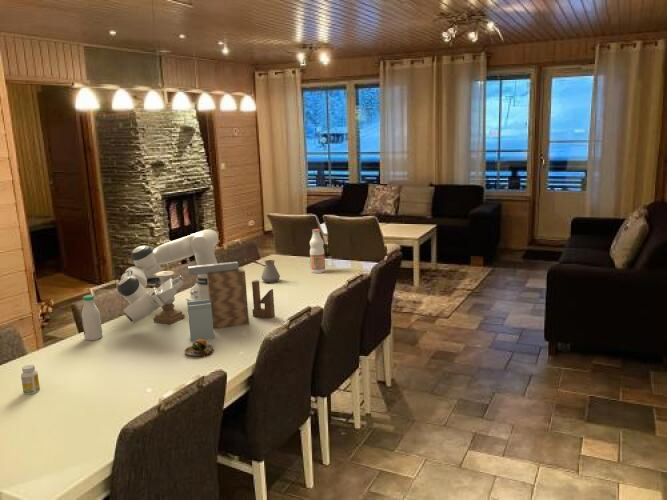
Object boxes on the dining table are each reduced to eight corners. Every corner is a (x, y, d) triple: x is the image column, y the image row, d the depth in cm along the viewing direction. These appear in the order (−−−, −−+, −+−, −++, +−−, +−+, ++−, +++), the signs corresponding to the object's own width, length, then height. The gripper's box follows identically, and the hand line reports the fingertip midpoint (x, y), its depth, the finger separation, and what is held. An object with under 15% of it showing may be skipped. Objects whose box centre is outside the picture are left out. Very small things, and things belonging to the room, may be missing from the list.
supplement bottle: (27, 396, 202) (23, 371, 200) (21, 392, 205) (17, 367, 203) (42, 390, 206) (38, 366, 204) (36, 387, 209) (32, 362, 207)
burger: (182, 351, 240) (181, 334, 238) (210, 346, 244) (209, 329, 242) (187, 361, 229) (185, 343, 227) (216, 355, 233) (214, 338, 232)
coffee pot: (282, 278, 354) (280, 255, 351) (277, 283, 343) (276, 259, 340) (249, 279, 357) (247, 255, 354) (243, 283, 346) (242, 259, 343)
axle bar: (188, 275, 261) (188, 268, 260) (188, 273, 264) (187, 266, 264) (238, 270, 267) (238, 262, 266) (237, 268, 271) (237, 261, 270)
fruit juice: (307, 272, 369) (305, 229, 363) (318, 269, 375) (316, 227, 370) (317, 274, 362) (315, 231, 357) (328, 271, 369) (326, 229, 363)
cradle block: (191, 341, 250) (187, 306, 247) (190, 335, 258) (187, 301, 255) (214, 338, 253) (211, 303, 250) (212, 332, 261) (209, 299, 257)
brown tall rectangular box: (212, 328, 265) (208, 275, 260) (211, 322, 275) (206, 270, 270) (249, 324, 270) (244, 271, 265) (246, 318, 279) (242, 266, 274)
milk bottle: (106, 335, 263) (101, 294, 259) (94, 341, 255) (88, 298, 252) (93, 334, 265) (87, 293, 261) (80, 340, 258) (75, 298, 254)
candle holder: (185, 317, 285) (180, 271, 280) (170, 324, 275) (165, 276, 270) (168, 315, 289) (163, 270, 285) (153, 322, 280) (147, 275, 275)
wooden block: (271, 318, 277) (269, 282, 274) (252, 316, 282) (250, 281, 278) (275, 316, 281) (272, 281, 277) (256, 314, 285) (253, 279, 281)
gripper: (161, 296, 271) (185, 279, 272) (161, 308, 251) (187, 290, 253) (153, 286, 269) (177, 269, 271) (152, 297, 249) (179, 278, 251)
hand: (182, 279), depth 262 cm, fingers open, 8 cm apart
